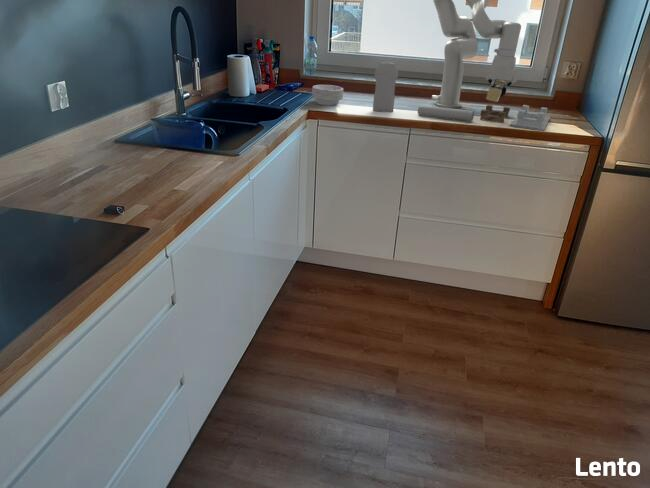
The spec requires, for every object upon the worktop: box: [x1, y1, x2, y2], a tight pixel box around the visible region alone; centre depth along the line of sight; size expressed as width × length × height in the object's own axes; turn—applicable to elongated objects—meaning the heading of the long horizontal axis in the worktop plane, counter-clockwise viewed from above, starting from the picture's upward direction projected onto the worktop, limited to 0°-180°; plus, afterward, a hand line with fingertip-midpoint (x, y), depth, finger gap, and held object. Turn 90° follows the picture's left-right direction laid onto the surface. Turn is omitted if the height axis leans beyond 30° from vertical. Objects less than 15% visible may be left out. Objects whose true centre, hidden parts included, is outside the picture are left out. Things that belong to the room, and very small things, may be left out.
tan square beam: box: [485, 80, 510, 103], centre depth 230 cm, size 5×24×5 cm, turn 154°
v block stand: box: [509, 104, 551, 132], centre depth 227 cm, size 14×26×6 cm, turn 153°
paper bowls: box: [311, 84, 344, 106], centre depth 247 cm, size 15×15×8 cm
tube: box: [417, 104, 475, 123], centre depth 229 cm, size 5×5×25 cm
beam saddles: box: [479, 104, 511, 123], centre depth 234 cm, size 10×15×4 cm
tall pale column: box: [372, 61, 399, 113], centre depth 233 cm, size 11×4×22 cm, turn 94°
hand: (497, 94), depth 231 cm, fingers closed on tan square beam, 4 cm apart
